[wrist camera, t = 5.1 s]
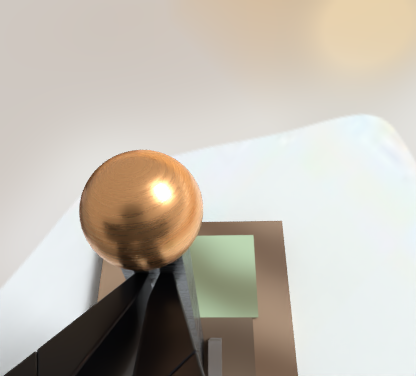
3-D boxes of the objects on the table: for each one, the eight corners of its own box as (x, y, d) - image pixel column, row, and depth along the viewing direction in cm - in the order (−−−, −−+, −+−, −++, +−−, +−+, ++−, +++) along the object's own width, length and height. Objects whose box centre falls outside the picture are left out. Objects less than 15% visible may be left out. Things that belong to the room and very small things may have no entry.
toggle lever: (215, 391, 14) (195, 213, 5) (152, 390, 14) (32, 216, 5) (215, 325, 16) (201, 124, 8) (160, 325, 16) (85, 127, 8)
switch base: (310, 538, 15) (349, 638, 10) (73, 530, 15) (7, 621, 11) (279, 225, 21) (294, 199, 16) (113, 227, 22) (82, 203, 17)
